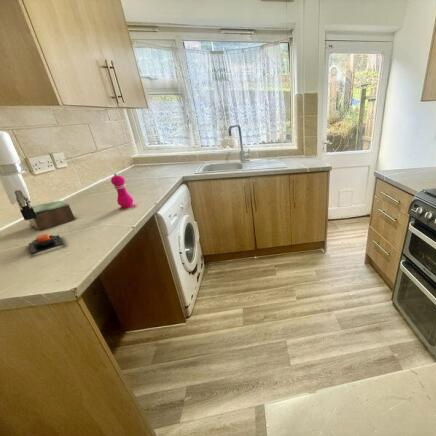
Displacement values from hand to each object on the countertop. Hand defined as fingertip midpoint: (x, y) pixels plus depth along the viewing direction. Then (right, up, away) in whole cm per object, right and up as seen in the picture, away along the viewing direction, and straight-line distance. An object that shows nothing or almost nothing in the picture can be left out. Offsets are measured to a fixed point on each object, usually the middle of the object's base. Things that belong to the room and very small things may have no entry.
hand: (30, 218), depth 90 cm
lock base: (+1, -12, +5) cm, 13 cm away
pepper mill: (+7, +5, +44) cm, 45 cm away
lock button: (+1, -8, +4) cm, 9 cm away
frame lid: (-20, +5, +25) cm, 32 cm away
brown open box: (-19, -2, +28) cm, 34 cm away
